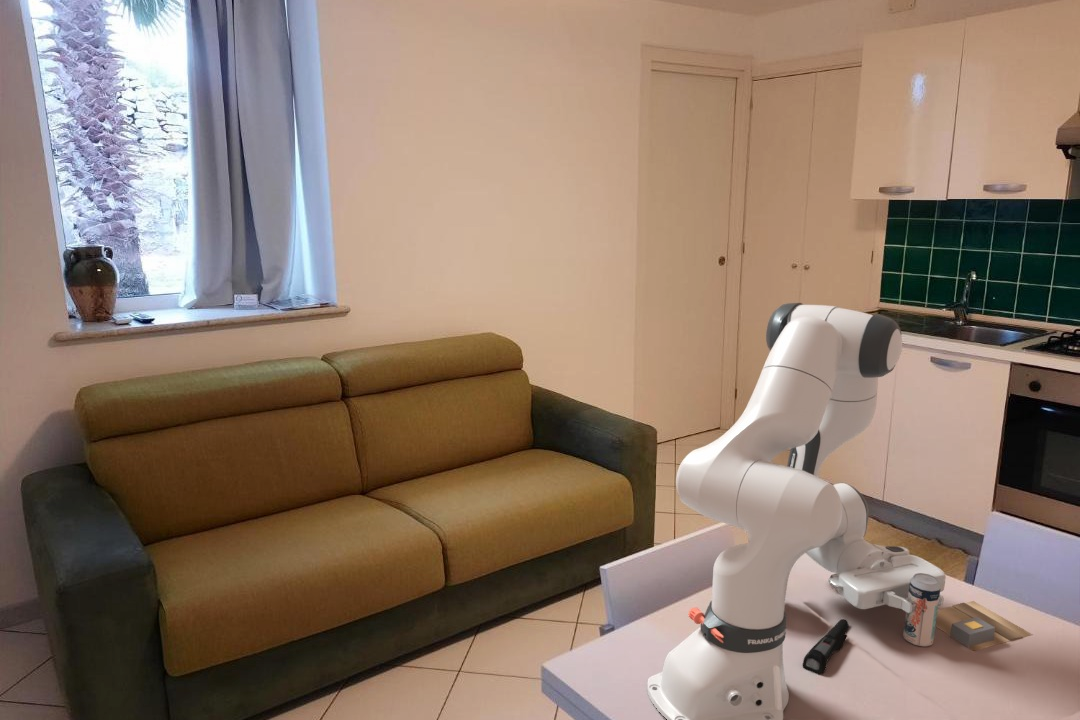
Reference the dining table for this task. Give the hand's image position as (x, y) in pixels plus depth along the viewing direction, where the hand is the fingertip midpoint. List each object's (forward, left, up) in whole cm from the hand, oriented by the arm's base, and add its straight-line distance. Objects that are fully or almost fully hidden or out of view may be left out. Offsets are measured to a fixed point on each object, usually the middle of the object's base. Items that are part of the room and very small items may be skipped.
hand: (926, 605), depth 130 cm
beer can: (0, +1, -8) cm, 8 cm away
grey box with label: (+9, -2, -7) cm, 12 cm away
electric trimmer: (-16, +6, -9) cm, 19 cm away
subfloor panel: (+13, +1, -9) cm, 16 cm away
